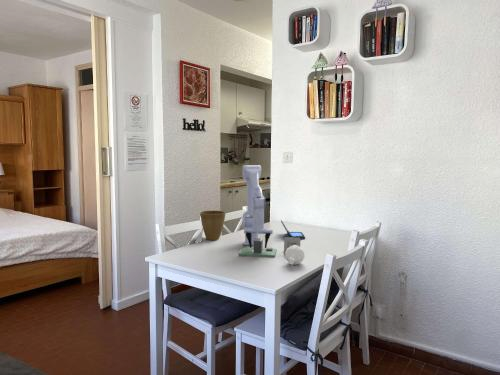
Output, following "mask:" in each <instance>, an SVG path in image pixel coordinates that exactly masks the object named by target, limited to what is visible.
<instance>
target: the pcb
mask: <svg viewBox="0 0 500 375" xmlns="http://www.w3.org/2000/svg"><path fill="white" fill-rule="evenodd" d="M276 254H277V248H273V247H267V248H265V247H264V248H263V250H262V253H254V247H251V248H250V247H242V248H241V250H240V251H239V253H238V256H240V257H241V256H243V257H261V258H262V257H263V258H264V257H266V258H276Z"/></svg>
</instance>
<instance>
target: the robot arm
mask: <svg viewBox="0 0 500 375" xmlns="http://www.w3.org/2000/svg"><path fill="white" fill-rule="evenodd" d="M261 176H262V166H261V165H260V164H258V165H256V164H255V165H254V164H253V165H251V164H250V165H249V164H248V165H246V164H243V166H242V180H243V181H245V183H246V201H247V202H246V203H247V204H246V205H247V206H246V207H247V208H246V211H245V212H244V213H243V214H242V221H241V223H242V227H243V228H244V229H243V234H244V242H243V245H244V246H249V248H253V246H254V239H255V238H259V234H262V235H264V248H266V249H267V248H268V247H267V246H268V242H269V240H270V236H271V235H273V234H274V232H273V229H267V228H266V229H265V209H266V202H267V201H266V197H265V196H264V195H263V190H262V187H261V186H260V184H259V180H260V178H261Z"/></svg>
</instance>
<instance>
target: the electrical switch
mask: <svg viewBox="0 0 500 375" xmlns="http://www.w3.org/2000/svg"><path fill="white" fill-rule="evenodd" d="M283 238H284V240H283V241H284V242H283V243H284V244H283V254H285V252H286V249H287V248H289V247H290V246H293V245H297V246H299V247H301V240H302V239H300V238H291V237H289V236H287V237H286V236H285V237H283Z"/></svg>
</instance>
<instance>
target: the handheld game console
mask: <svg viewBox="0 0 500 375" xmlns="http://www.w3.org/2000/svg"><path fill="white" fill-rule="evenodd" d="M280 222H281V225H282V226H283V227H284V229H285V231H286V234H287V237H291V238H300V239H301V240H305V239H306V237H305V234H304V233H303V232H302V231H290V230H288V229H287V227H286V225H285V223H284V222H283V220H282V219H280Z"/></svg>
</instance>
